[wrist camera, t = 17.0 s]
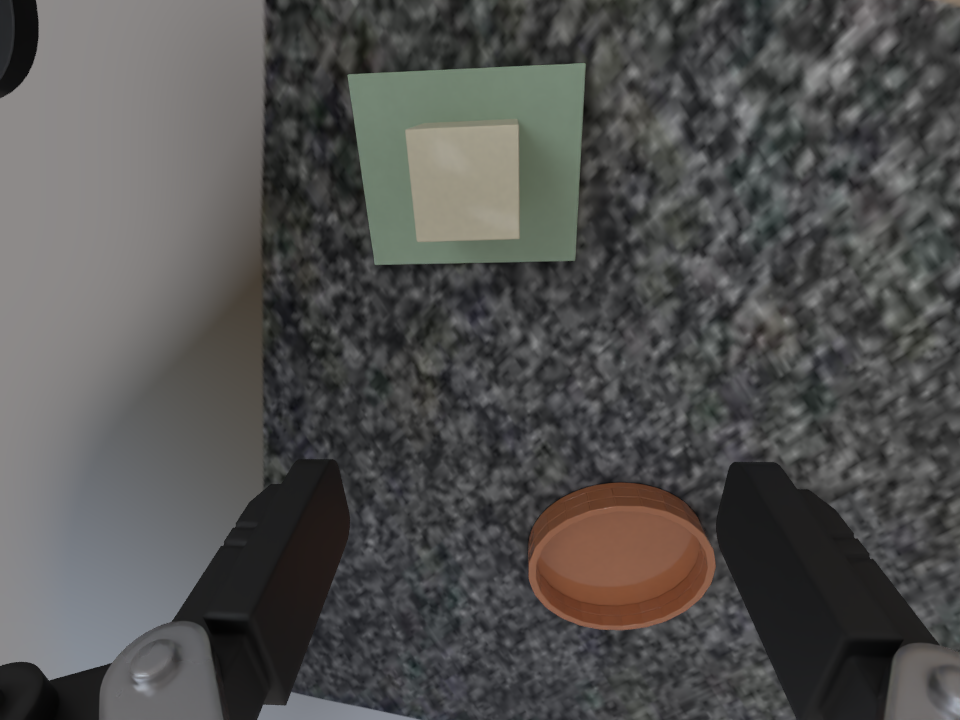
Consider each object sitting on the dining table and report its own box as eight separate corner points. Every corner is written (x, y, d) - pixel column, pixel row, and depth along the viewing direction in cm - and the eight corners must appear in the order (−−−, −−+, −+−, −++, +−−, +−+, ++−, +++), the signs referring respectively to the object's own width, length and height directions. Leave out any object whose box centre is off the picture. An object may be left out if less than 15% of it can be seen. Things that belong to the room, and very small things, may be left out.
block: (431, 219, 28) (416, 242, 24) (422, 122, 26) (404, 129, 22) (518, 216, 28) (519, 239, 24) (517, 118, 26) (519, 124, 21)
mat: (376, 262, 30) (374, 265, 30) (349, 74, 26) (347, 74, 25) (574, 258, 30) (575, 261, 29) (584, 63, 25) (585, 63, 24)
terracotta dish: (527, 601, 45) (528, 627, 42) (528, 481, 38) (529, 505, 36) (688, 605, 44) (698, 632, 42) (719, 483, 37) (732, 507, 35)
